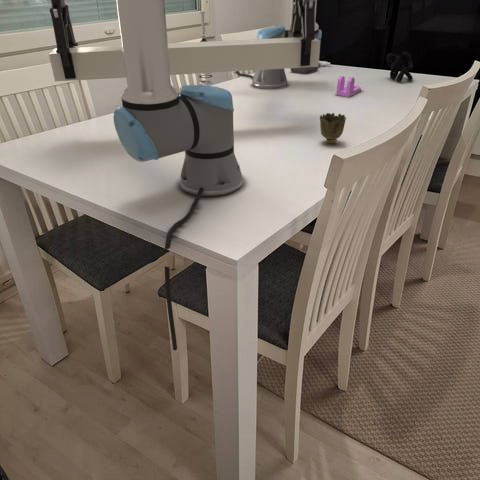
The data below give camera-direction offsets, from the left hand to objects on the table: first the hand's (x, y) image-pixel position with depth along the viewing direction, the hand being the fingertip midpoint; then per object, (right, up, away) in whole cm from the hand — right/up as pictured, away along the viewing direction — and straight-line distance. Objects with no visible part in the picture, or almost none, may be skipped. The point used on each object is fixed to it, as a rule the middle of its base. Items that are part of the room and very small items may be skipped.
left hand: (73, 74), depth 125 cm
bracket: (+92, +14, +59) cm, 110 cm away
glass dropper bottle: (+33, +17, +65) cm, 74 cm away
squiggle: (+119, +26, +76) cm, 143 cm away
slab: (+33, +3, +5) cm, 33 cm away
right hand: (+65, +7, +10) cm, 66 cm away
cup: (+74, -17, +9) cm, 76 cm away
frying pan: (+82, +40, +99) cm, 135 cm away
